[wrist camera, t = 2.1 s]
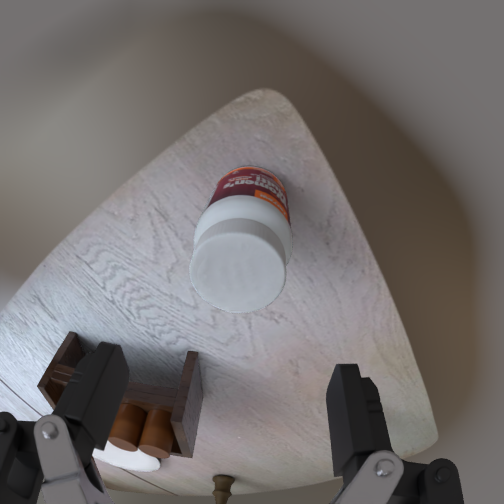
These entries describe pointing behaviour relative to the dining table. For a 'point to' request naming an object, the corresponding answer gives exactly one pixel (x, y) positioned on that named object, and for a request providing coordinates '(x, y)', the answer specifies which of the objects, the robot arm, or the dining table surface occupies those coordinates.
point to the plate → (127, 458)
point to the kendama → (222, 488)
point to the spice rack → (140, 406)
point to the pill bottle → (242, 242)
